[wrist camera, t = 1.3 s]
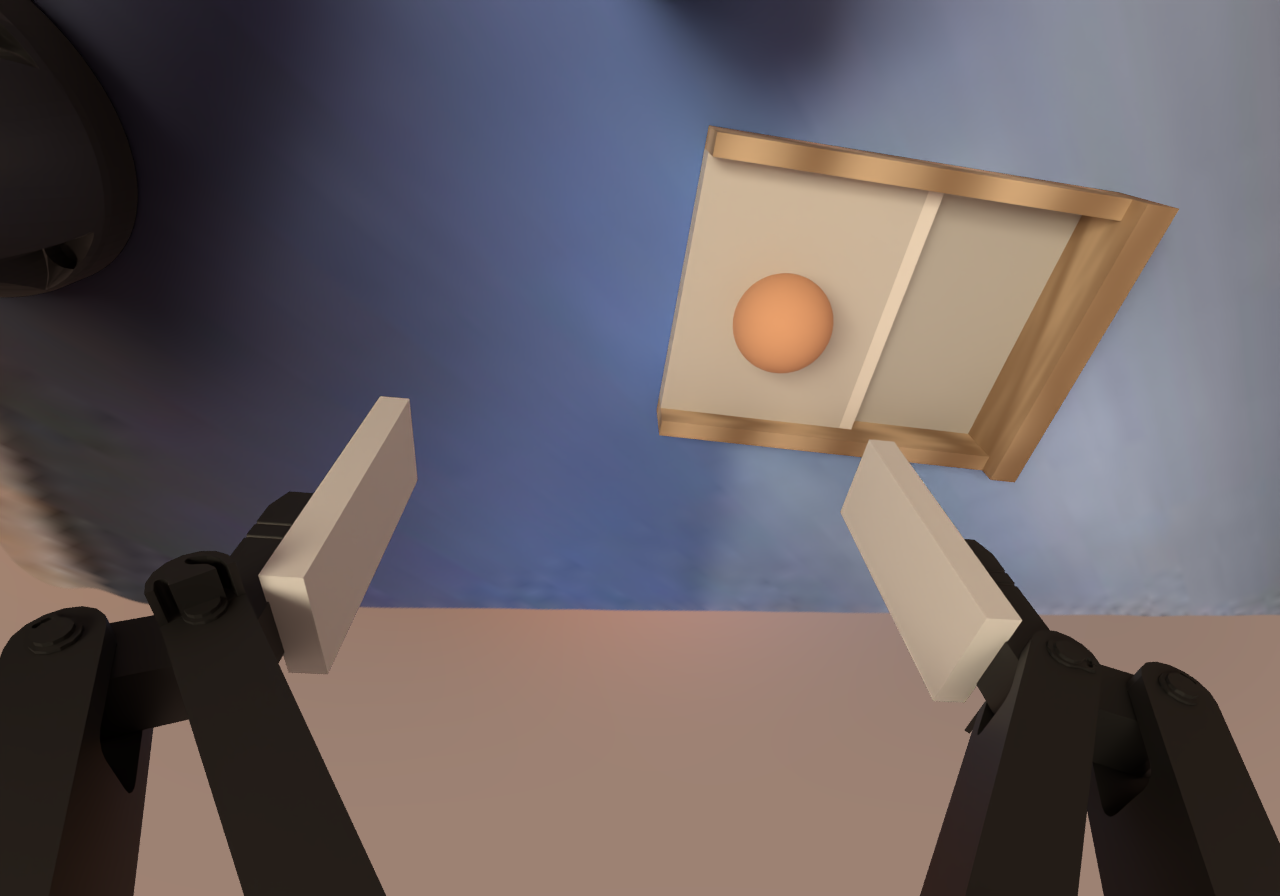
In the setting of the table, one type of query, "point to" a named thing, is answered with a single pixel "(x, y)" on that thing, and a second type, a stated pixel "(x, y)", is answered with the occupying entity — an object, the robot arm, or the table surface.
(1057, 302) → the lane frame
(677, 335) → the mat
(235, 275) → the table surface
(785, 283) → the ball
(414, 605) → the table surface
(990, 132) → the table surface
